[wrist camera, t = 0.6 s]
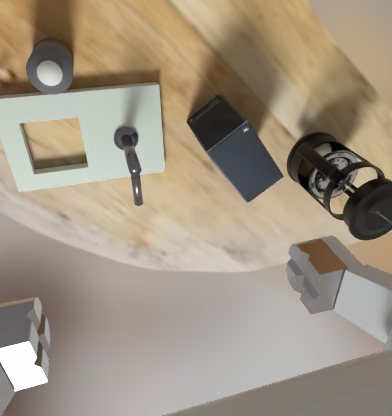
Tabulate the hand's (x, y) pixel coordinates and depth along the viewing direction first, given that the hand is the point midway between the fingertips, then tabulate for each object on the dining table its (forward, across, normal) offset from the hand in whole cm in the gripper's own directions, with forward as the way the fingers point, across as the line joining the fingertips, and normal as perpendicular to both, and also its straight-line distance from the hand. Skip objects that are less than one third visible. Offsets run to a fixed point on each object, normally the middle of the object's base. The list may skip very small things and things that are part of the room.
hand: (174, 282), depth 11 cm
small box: (+40, -15, +12) cm, 44 cm away
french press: (+39, -31, +18) cm, 53 cm away
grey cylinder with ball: (+39, +6, 0) cm, 40 cm away
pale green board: (+39, +4, +10) cm, 41 cm away
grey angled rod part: (+38, -1, +12) cm, 40 cm away
